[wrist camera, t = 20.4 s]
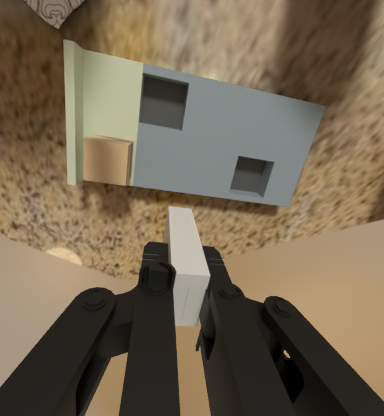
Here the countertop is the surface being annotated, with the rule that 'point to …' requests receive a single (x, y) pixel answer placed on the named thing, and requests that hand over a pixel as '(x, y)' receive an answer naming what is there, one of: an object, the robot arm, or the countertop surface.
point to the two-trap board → (187, 128)
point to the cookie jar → (54, 9)
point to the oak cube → (107, 159)
